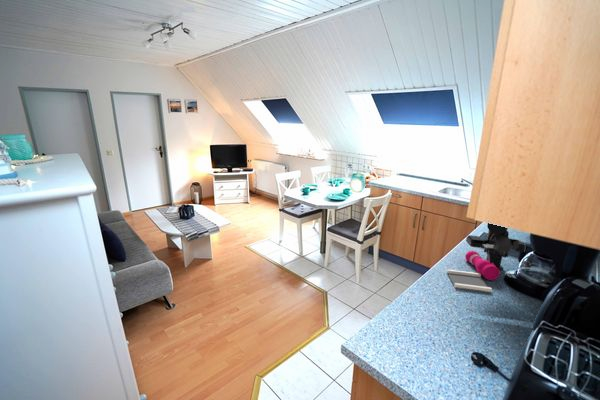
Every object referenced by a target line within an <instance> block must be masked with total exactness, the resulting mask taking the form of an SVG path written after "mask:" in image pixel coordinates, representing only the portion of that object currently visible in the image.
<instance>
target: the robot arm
mask: <svg viewBox="0 0 600 400" xmlns="http://www.w3.org/2000/svg"><path fill="white" fill-rule="evenodd" d="M486 226H487V229H488V232H487V235H485V239H482V238H480V236H478V235H470V234H469V235H468V236H467V237H466V239H465V241H466V243H467V244H468V245H469V246H470V247H472V248H479V249H480V248H481V247H483V249H484V251H483V253H486V259H485V260H489V263H493V264H494V265H495V266H496V267H497V268H498V269H499V270H504V267H503V266H502V265H501V264H502V260H503V258H505V259H506V258H509V255H510V253H511V251H512V250H514V251H515V252H521V253H525V252H526V244H524V243H523V242H522V241H520V240H519V239H516V238H515V239H513V238H509V231H508V229H509V227H508V228H505V227H501V226H497V225H493V224H489V223H488V222H487V225H486Z"/></svg>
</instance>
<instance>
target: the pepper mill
mask: <svg viewBox="0 0 600 400" xmlns="http://www.w3.org/2000/svg"><path fill="white" fill-rule="evenodd" d="M464 258H465V260H466V262H468V263H470V264H471V265H473V266H475V270H476V271H477V272H476V273H480V274H481V277H484V278H485V279H486V280H490V281H492V280H495V279H497V278H498V277H499V275H500V269H498V268H497V267H496V266H495V265H494V264H493V263H489V260H486V259H483V257H482V256H481V255H480V254H479V252H477V251H476V250H475V251H474V250H469V251H467V252H466V254H465V257H464Z"/></svg>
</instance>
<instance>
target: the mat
mask: <svg viewBox="0 0 600 400" xmlns="http://www.w3.org/2000/svg"><path fill="white" fill-rule="evenodd" d="M446 274H447V276H448V279H449V280H450V283H451V284H452V286H453V287H454V289H458V290H465V291H466V290H467V291H474V292H479V293H486V294H489V293H490V294H491V293H492V291H493V289H492V287H490V286H487V285H488V284H486V282H485V281H484V279H483V278H482V275H481V274H480V273H478V272H472V271H462V270H455V269H454V270H453V269H447V270H446Z"/></svg>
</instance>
